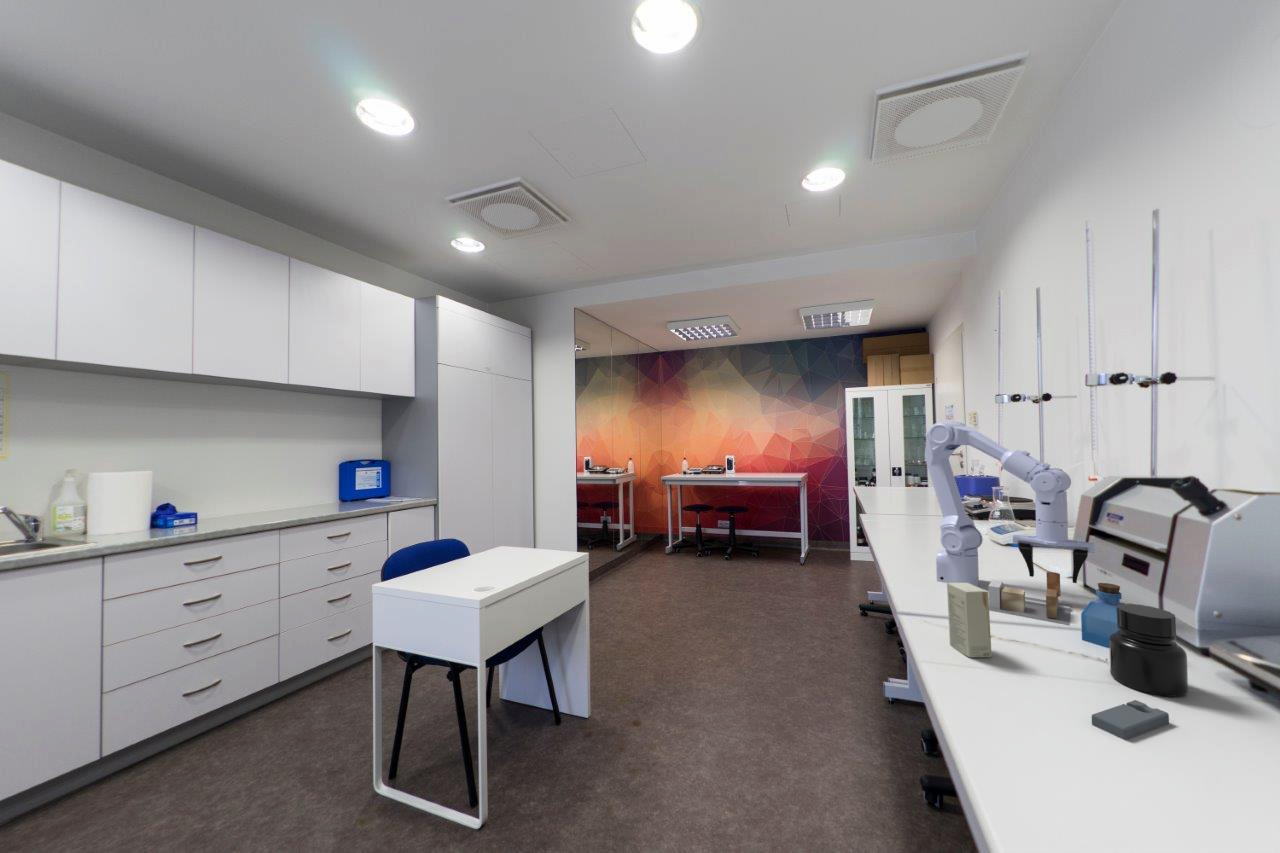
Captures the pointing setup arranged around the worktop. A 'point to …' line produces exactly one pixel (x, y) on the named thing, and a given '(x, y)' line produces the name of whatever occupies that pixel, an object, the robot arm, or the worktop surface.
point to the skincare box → (969, 619)
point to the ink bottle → (1148, 651)
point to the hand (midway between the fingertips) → (1052, 578)
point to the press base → (1028, 606)
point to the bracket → (1130, 719)
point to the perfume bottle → (1101, 615)
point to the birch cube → (1013, 599)
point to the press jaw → (1052, 594)
